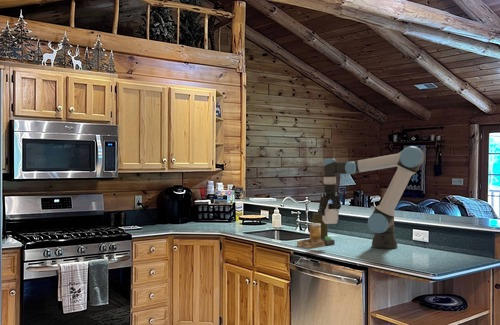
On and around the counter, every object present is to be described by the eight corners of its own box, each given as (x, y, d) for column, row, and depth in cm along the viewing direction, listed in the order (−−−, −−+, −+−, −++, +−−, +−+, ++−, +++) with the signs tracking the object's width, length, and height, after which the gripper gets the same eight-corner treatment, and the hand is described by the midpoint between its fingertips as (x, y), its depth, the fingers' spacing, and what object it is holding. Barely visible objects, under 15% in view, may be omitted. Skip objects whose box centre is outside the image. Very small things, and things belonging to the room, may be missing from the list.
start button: (332, 243, 308) (332, 237, 308) (327, 243, 305) (327, 237, 305) (327, 242, 311) (327, 236, 311) (323, 243, 308) (323, 236, 308)
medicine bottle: (334, 222, 302) (334, 202, 302) (337, 223, 294) (337, 203, 295) (323, 222, 301) (323, 203, 302) (325, 223, 294) (325, 204, 294)
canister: (327, 239, 327) (327, 210, 327) (312, 239, 329) (311, 209, 330) (328, 237, 338) (328, 208, 338) (313, 237, 340) (313, 208, 340)
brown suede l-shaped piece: (334, 244, 307) (334, 224, 307) (310, 248, 294) (310, 227, 295) (316, 241, 320) (316, 222, 320) (293, 245, 307) (293, 225, 307)
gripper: (337, 183, 308) (338, 218, 308) (312, 184, 294) (313, 221, 294) (346, 183, 302) (347, 219, 302) (321, 184, 288) (321, 222, 288)
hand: (330, 220), depth 298 cm, fingers closed on medicine bottle, 10 cm apart
